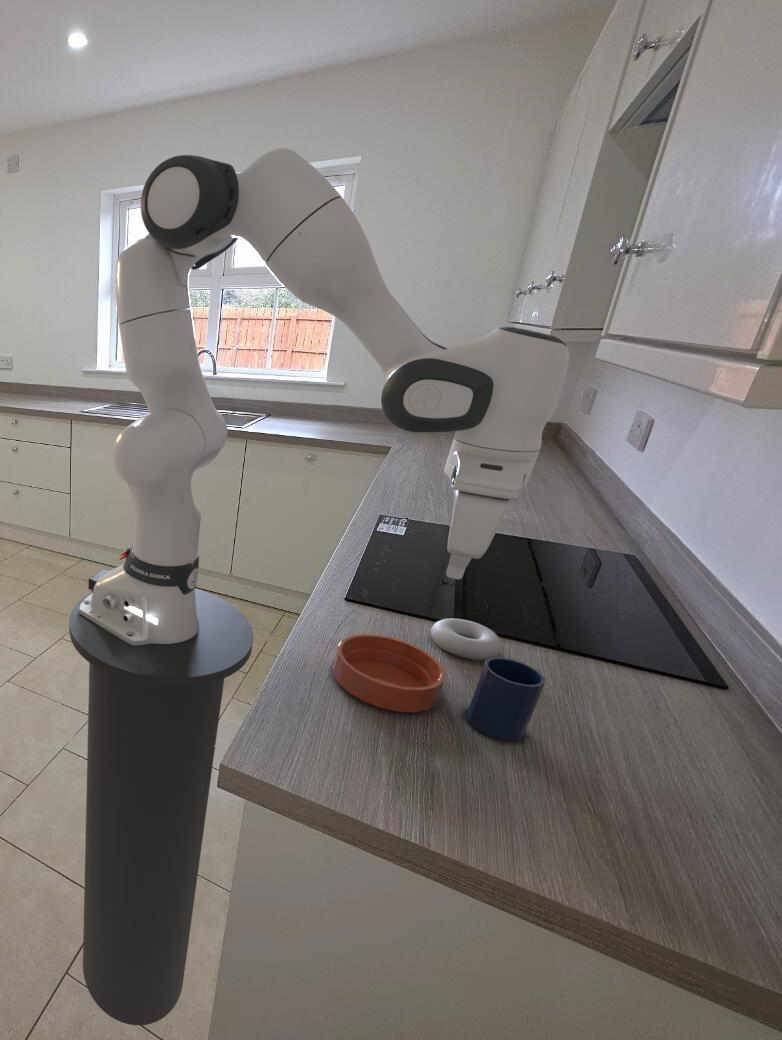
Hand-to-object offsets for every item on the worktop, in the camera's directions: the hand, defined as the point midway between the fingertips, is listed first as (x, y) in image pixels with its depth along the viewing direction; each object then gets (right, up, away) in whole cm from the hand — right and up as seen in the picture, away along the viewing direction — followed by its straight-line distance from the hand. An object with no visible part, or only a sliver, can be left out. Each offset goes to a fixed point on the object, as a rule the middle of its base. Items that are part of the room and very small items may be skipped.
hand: (454, 563), depth 77 cm
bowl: (-4, -19, +10) cm, 22 cm away
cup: (+6, -22, +1) cm, 23 cm away
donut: (+15, -15, +19) cm, 29 cm away
